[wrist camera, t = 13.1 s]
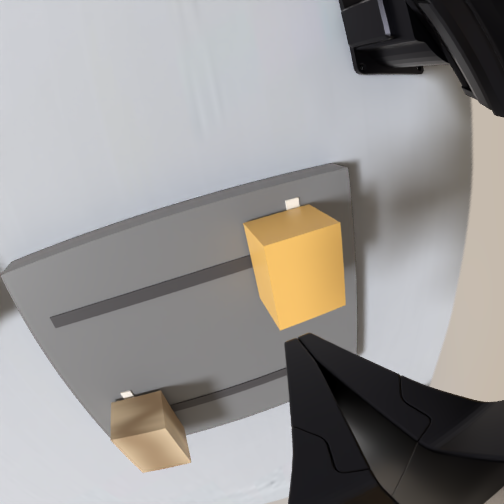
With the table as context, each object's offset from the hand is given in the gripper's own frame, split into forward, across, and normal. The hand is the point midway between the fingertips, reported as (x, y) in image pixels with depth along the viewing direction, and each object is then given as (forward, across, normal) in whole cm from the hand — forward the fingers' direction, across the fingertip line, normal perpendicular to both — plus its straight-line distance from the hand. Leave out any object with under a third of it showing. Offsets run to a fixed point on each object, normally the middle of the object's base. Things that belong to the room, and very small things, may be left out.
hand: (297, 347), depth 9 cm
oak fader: (+9, +9, +12) cm, 18 cm away
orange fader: (+9, -3, +2) cm, 10 cm away
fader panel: (+12, +3, +7) cm, 14 cm away
